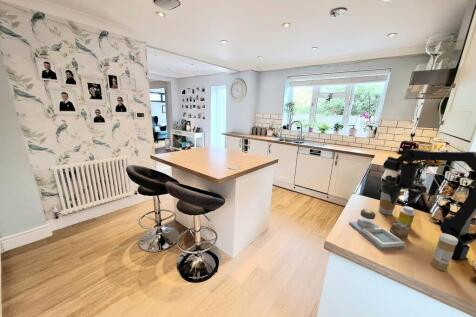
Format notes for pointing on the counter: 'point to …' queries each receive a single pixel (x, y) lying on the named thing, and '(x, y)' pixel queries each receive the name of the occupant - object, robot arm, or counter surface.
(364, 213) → the wheel
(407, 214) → the supplement bottle
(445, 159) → the robot arm
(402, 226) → the brown block
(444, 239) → the sprinkles bottle
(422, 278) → the counter surface
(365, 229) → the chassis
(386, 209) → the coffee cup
